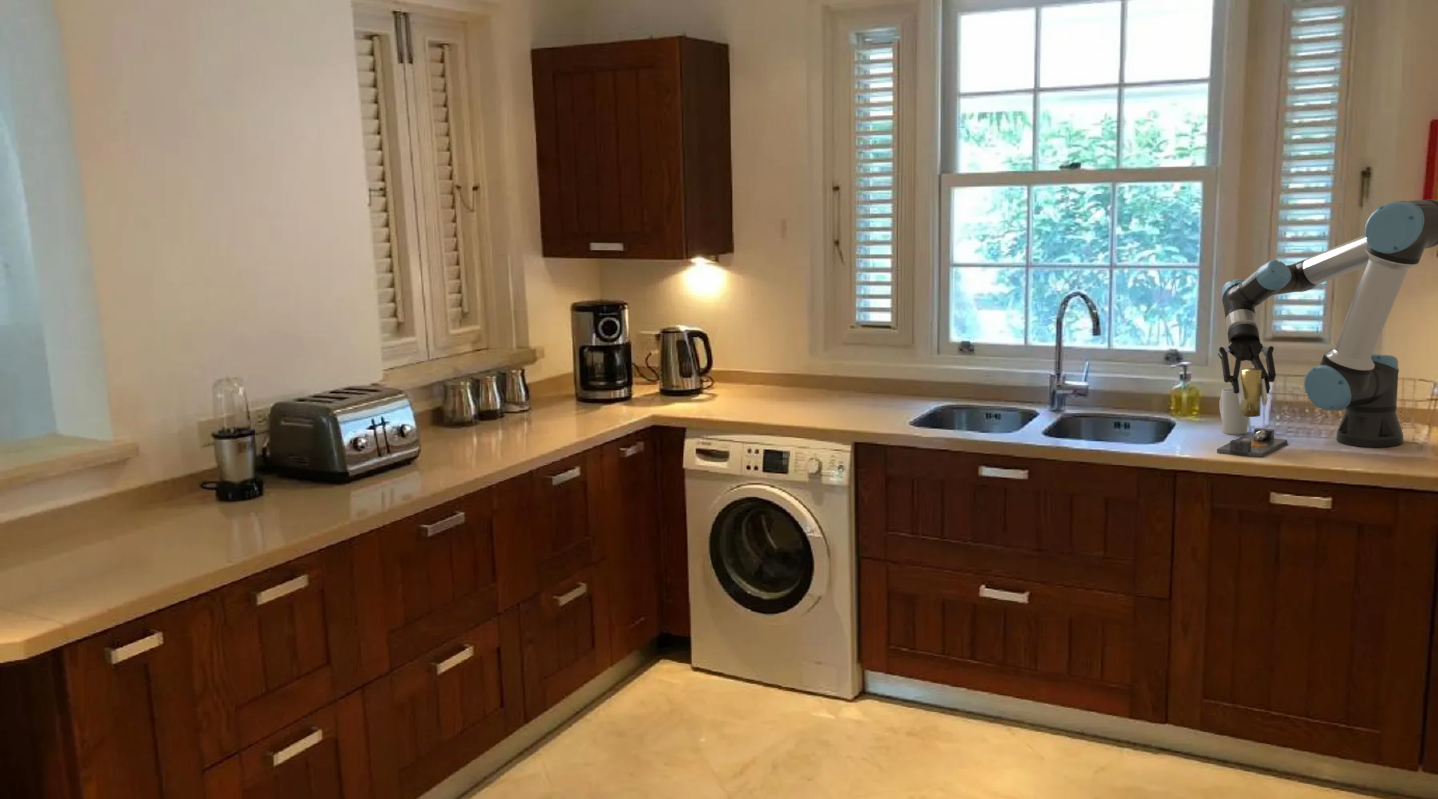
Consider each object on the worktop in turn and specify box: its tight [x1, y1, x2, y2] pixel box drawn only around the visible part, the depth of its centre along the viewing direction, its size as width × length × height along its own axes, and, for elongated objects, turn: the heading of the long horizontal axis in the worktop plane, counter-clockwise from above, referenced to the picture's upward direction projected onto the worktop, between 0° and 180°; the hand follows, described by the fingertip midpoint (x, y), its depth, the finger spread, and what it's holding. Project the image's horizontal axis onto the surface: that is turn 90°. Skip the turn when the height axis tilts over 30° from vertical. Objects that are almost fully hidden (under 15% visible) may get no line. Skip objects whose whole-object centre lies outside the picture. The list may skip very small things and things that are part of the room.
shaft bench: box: [1216, 427, 1288, 458], centre depth 301 cm, size 19×11×3 cm, turn 136°
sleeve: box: [1240, 367, 1262, 418], centre depth 299 cm, size 5×5×12 cm
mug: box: [1219, 387, 1248, 436], centre depth 321 cm, size 10×7×12 cm, turn 11°
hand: (1253, 402), depth 296 cm, fingers closed on sleeve, 5 cm apart
